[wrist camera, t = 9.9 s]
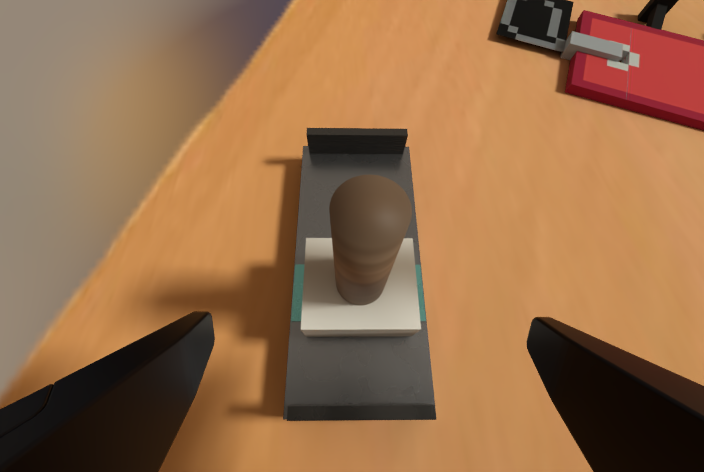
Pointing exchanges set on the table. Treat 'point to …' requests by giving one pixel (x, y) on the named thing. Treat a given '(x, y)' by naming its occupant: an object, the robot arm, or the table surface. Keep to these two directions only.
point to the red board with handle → (618, 57)
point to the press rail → (354, 352)
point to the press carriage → (362, 265)
